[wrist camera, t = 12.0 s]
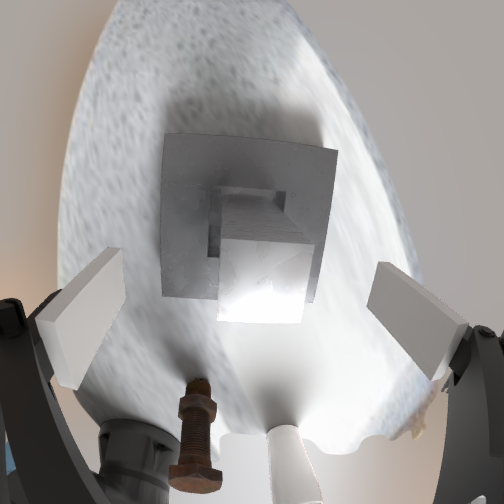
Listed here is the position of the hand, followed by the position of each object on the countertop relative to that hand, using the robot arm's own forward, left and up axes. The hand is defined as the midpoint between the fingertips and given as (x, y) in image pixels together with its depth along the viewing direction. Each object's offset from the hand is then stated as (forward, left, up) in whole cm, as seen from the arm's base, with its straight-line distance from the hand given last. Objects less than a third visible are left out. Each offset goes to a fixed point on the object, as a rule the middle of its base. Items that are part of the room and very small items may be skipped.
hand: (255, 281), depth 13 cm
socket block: (0, 0, -14) cm, 14 cm away
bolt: (-22, +4, -14) cm, 26 cm away
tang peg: (0, 0, -13) cm, 13 cm away
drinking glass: (-34, -9, -14) cm, 38 cm away
